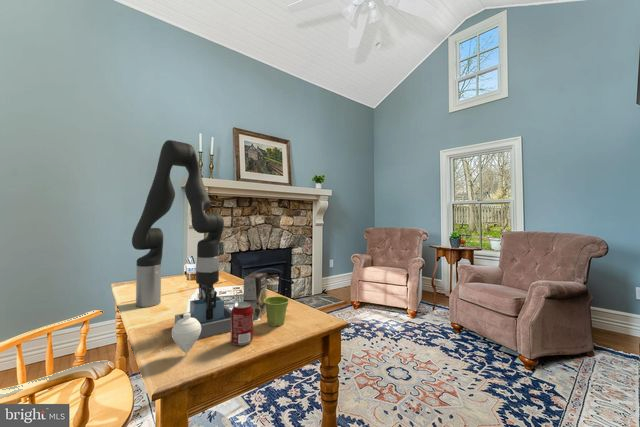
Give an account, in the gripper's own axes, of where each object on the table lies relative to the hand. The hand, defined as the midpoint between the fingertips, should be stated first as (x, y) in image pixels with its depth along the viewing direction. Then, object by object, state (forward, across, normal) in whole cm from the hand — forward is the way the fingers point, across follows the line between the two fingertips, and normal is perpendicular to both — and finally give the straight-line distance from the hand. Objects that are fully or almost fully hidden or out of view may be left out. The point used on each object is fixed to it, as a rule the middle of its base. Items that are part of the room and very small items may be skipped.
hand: (206, 316), depth 98 cm
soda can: (+4, +18, +6) cm, 19 cm away
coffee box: (+4, -1, +19) cm, 20 cm away
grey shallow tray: (+4, 0, 0) cm, 4 cm away
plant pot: (+4, +11, +22) cm, 25 cm away
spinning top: (+4, +17, -10) cm, 20 cm away
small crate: (+2, 0, 0) cm, 2 cm away
